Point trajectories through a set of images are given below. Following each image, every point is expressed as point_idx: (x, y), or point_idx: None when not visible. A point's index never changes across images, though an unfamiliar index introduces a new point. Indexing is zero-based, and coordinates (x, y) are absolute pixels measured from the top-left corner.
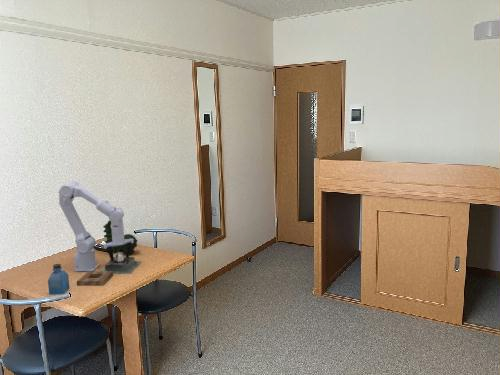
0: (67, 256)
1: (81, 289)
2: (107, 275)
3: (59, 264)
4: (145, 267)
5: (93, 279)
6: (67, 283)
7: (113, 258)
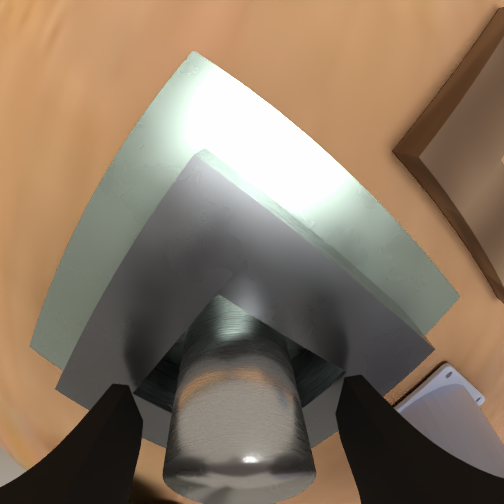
0: None
1: None
2: (489, 80)
3: None
4: (7, 177)
5: None
6: None
7: (364, 405)
